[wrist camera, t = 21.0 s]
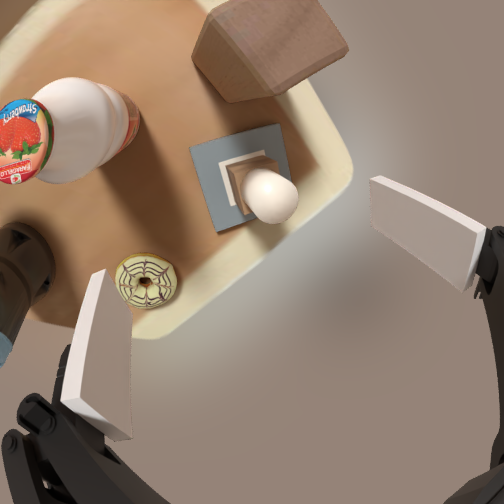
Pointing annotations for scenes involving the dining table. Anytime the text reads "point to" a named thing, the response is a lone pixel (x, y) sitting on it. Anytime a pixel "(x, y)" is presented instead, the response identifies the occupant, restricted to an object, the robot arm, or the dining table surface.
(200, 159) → the slate board
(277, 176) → the marshmallow
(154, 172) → the dining table surface
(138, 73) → the dining table surface
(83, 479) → the robot arm
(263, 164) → the walnut cube
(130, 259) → the decorated donut
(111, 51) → the dining table surface
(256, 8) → the wooden block
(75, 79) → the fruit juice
